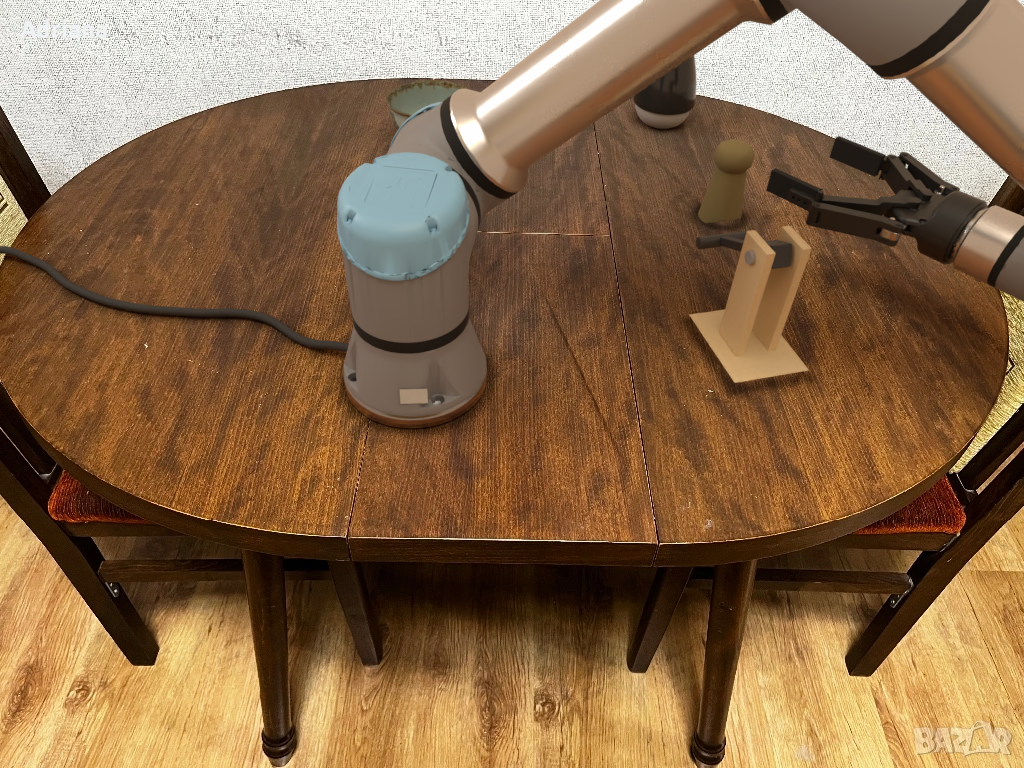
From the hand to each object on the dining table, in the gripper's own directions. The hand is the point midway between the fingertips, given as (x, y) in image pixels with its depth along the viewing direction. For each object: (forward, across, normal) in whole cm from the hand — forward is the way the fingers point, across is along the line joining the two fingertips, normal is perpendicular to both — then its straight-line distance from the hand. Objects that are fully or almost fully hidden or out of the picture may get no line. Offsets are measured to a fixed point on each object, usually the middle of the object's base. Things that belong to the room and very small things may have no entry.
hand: (803, 162), depth 95 cm
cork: (+10, 0, -12) cm, 16 cm away
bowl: (+52, -20, -12) cm, 57 cm away
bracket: (-10, -21, -12) cm, 26 cm away
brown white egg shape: (+35, +16, -12) cm, 41 cm away
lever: (-7, -19, -3) cm, 20 cm away
